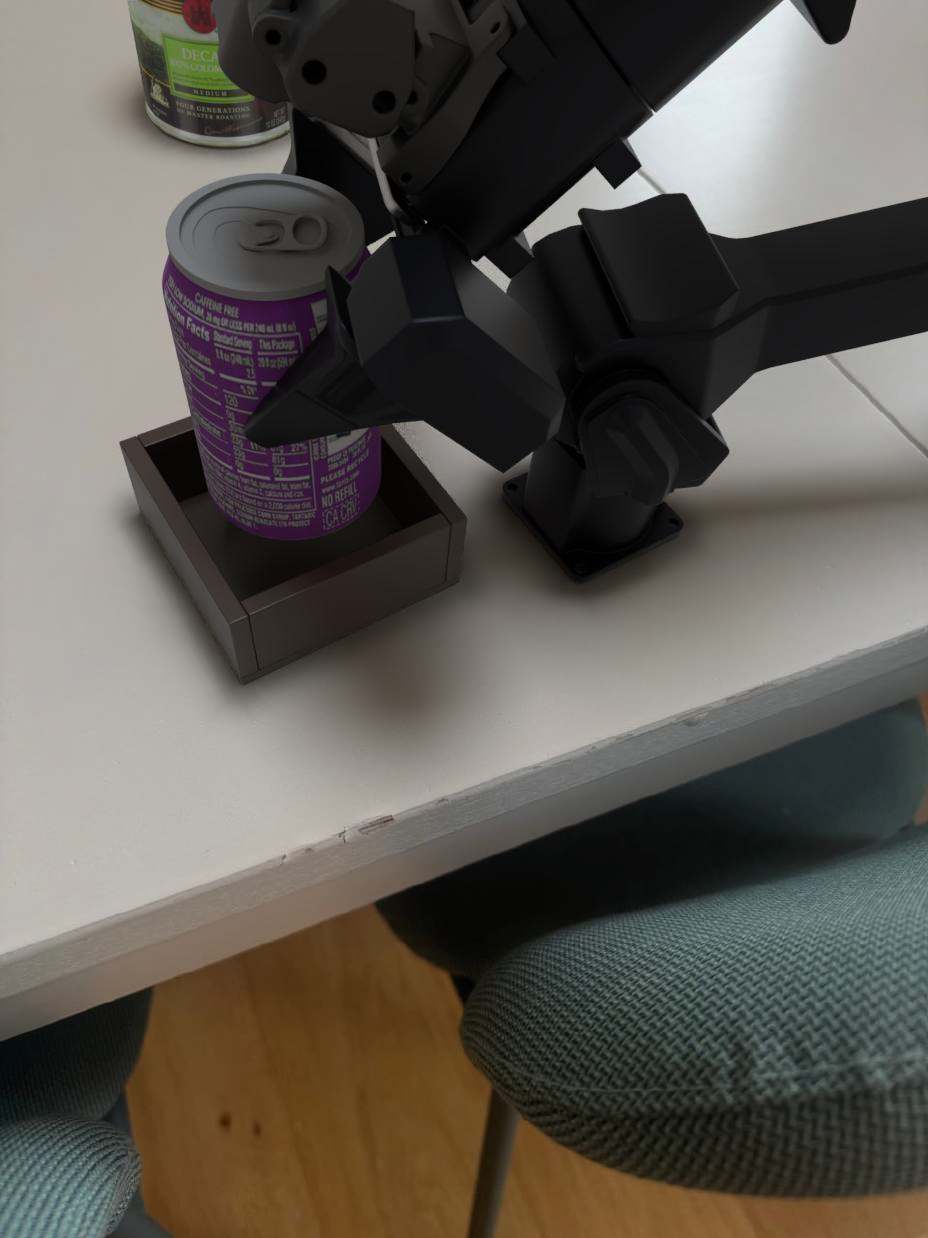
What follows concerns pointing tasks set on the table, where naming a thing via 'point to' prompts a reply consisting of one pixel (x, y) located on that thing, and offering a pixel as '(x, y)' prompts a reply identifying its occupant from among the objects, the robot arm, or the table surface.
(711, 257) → the robot arm
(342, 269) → the beverage can
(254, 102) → the coffee can
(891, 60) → the table surface
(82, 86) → the table surface
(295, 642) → the open box
